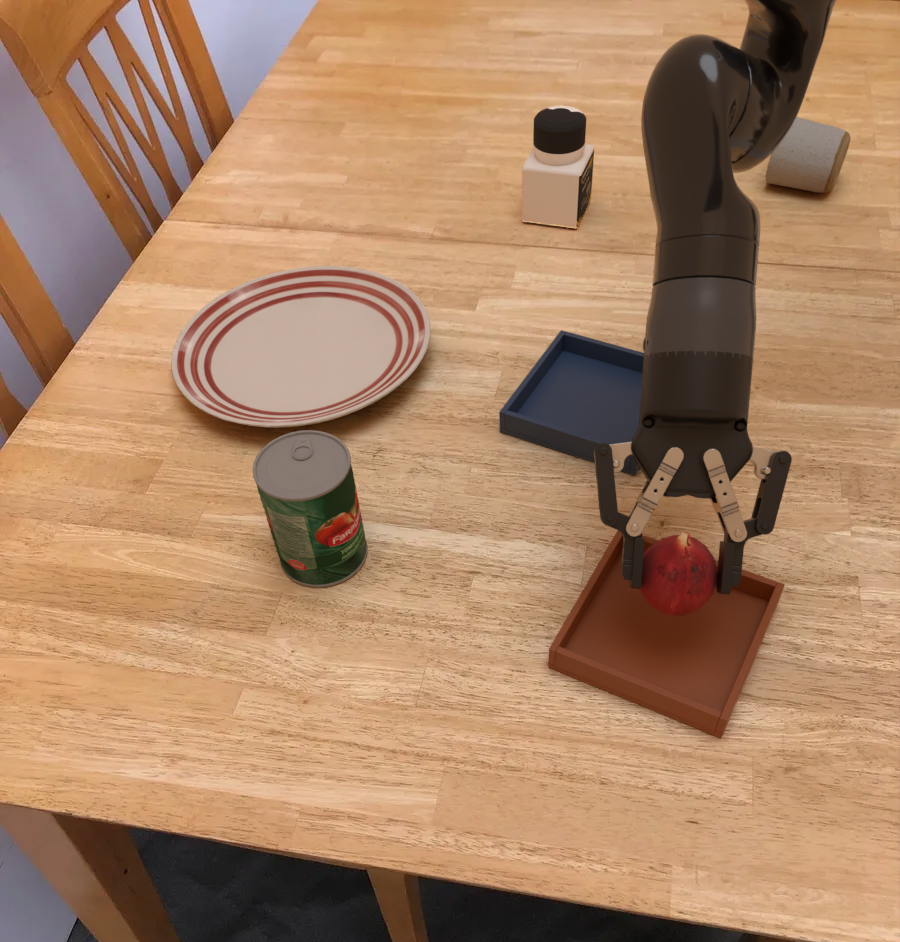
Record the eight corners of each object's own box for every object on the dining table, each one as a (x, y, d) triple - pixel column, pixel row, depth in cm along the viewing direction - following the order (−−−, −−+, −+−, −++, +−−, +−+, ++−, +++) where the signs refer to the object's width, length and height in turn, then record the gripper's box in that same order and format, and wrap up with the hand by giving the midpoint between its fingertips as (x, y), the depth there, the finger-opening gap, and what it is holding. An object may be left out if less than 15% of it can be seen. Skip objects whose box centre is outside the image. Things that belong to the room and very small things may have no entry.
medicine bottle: (577, 231, 112) (583, 130, 103) (521, 223, 114) (521, 124, 104) (591, 200, 116) (598, 101, 107) (536, 194, 118) (538, 96, 108)
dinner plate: (127, 416, 95) (116, 390, 93) (256, 270, 111) (250, 245, 108) (368, 475, 88) (363, 449, 85) (470, 310, 103) (468, 284, 101)
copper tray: (777, 603, 76) (785, 583, 74) (721, 738, 69) (727, 721, 67) (616, 546, 81) (619, 526, 79) (547, 667, 73) (548, 648, 71)
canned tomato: (368, 583, 80) (351, 493, 71) (278, 592, 80) (249, 503, 71) (366, 516, 85) (350, 425, 76) (281, 525, 85) (254, 434, 76)
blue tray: (688, 386, 93) (692, 365, 91) (635, 476, 86) (638, 455, 84) (560, 350, 98) (560, 329, 96) (499, 432, 91) (499, 411, 89)
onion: (721, 624, 71) (741, 556, 64) (651, 644, 70) (665, 578, 63) (688, 568, 74) (704, 499, 68) (621, 587, 73) (631, 519, 67)
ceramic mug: (827, 206, 112) (845, 142, 106) (760, 193, 115) (774, 130, 109) (845, 166, 118) (864, 103, 112) (781, 155, 121) (795, 93, 115)
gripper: (597, 343, 62) (581, 590, 65) (817, 349, 61) (793, 603, 63) (593, 357, 70) (579, 579, 72) (790, 364, 68) (769, 590, 70)
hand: (679, 589), depth 67 cm, fingers closed on onion, 5 cm apart
